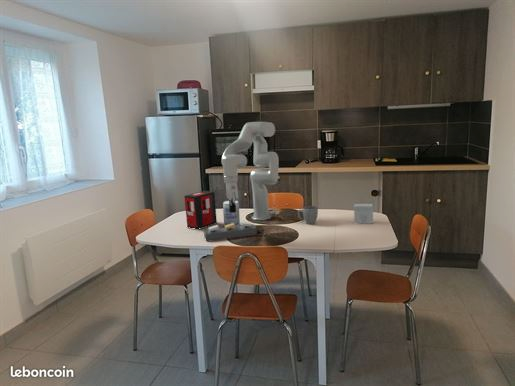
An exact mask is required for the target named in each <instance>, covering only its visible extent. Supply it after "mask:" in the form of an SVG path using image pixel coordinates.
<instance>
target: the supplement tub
mask: <svg viewBox="0 0 515 386" xmlns="http://www.w3.org/2000/svg"><path fill="white" fill-rule="evenodd" d="M239 204H240V203H239V200H235V205H236V212H233V213H230V209H229V200H225V201H223V203H222V208H223V209H222V210H223V225H224V227H225V225H228V224H231V223H234V224H235V226H241V221H240V220H241V219H240V205H239Z"/></svg>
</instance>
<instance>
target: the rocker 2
mask: <svg viewBox="0 0 515 386" xmlns="http://www.w3.org/2000/svg"><path fill="white" fill-rule="evenodd" d="M251 224H252V223H251V222H246V221H240V226H251Z"/></svg>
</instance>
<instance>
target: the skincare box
mask: <svg viewBox="0 0 515 386" xmlns="http://www.w3.org/2000/svg"><path fill="white" fill-rule="evenodd" d="M353 209H354V210H353V213H354V214H353V215H354V218H353V219H354V220H353V221H354V224H355V223H359V224H361V223H368V225H369V223H373V224H374V206H373V203H354V205H353Z"/></svg>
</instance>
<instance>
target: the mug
mask: <svg viewBox="0 0 515 386" xmlns="http://www.w3.org/2000/svg"><path fill="white" fill-rule="evenodd" d="M318 209H319V208H318V206H315V205H305V206H303V207H302V209H299V210H298V211H297V216H298V218H299V219H300V220H302V221H304V222H305V224H306V225H309V226H310V225H311V226H312V225H315V224H316V221H317V219H318V211H319V210H318ZM301 213H302V215H303V217H301V216H302V215H301Z"/></svg>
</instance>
